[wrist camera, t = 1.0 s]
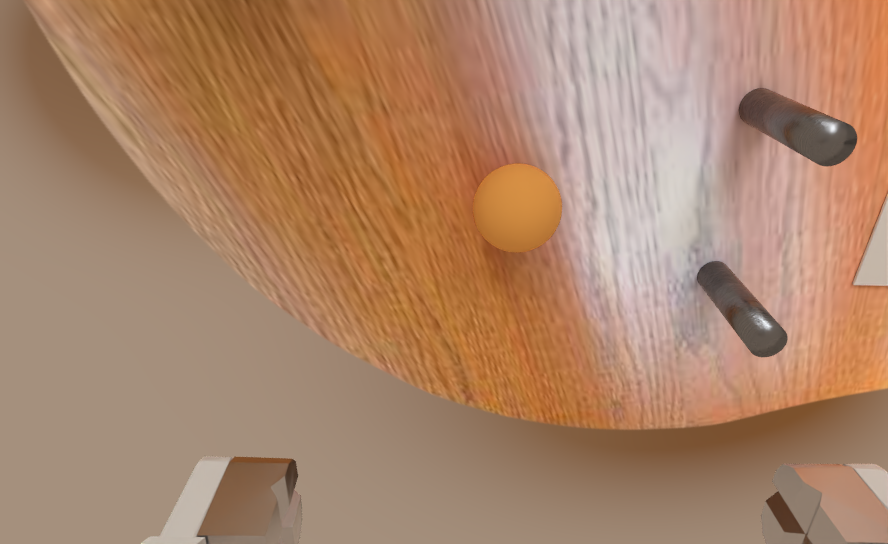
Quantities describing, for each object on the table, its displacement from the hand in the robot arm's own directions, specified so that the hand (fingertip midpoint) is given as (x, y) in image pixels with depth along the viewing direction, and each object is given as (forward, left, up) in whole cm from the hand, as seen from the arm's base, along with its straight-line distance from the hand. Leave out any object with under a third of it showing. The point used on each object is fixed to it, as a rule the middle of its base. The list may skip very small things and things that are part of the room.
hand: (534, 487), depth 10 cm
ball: (+7, +3, -31) cm, 32 cm away
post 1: (+14, +19, -34) cm, 41 cm away
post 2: (+1, +19, -34) cm, 39 cm away
